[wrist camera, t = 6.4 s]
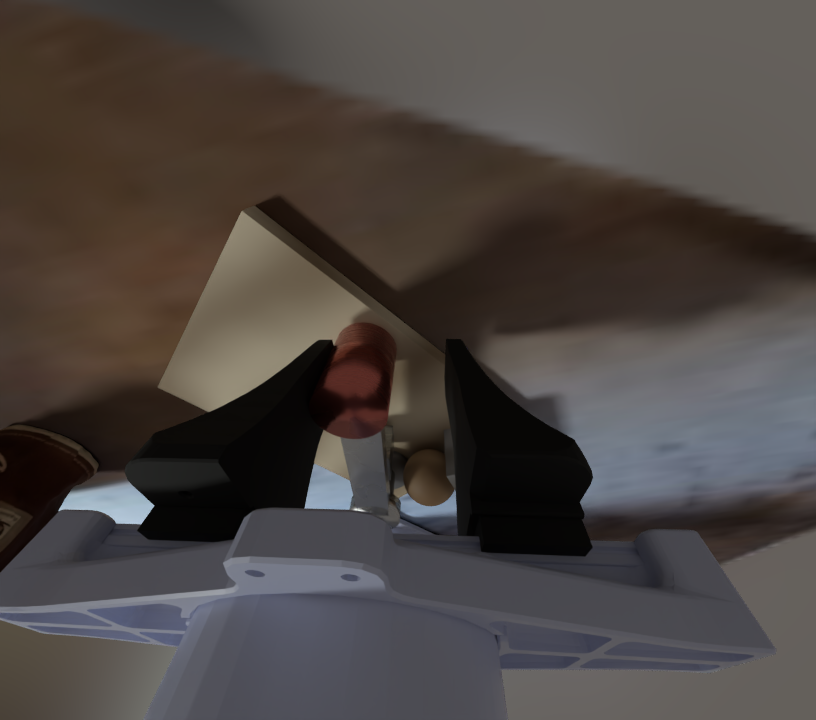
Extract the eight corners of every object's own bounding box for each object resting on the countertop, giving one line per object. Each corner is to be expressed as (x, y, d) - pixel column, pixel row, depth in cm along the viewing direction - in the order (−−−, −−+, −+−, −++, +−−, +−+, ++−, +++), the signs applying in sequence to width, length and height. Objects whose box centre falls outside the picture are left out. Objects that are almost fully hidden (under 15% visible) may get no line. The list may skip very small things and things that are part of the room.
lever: (403, 483, 21) (399, 550, 18) (360, 481, 21) (348, 547, 18) (398, 320, 13) (388, 385, 10) (330, 319, 13) (297, 383, 10)
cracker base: (535, 424, 19) (558, 487, 15) (407, 495, 24) (404, 551, 21) (254, 205, 12) (187, 233, 8) (169, 375, 18) (111, 431, 14)
